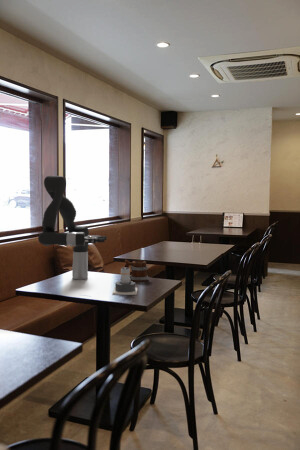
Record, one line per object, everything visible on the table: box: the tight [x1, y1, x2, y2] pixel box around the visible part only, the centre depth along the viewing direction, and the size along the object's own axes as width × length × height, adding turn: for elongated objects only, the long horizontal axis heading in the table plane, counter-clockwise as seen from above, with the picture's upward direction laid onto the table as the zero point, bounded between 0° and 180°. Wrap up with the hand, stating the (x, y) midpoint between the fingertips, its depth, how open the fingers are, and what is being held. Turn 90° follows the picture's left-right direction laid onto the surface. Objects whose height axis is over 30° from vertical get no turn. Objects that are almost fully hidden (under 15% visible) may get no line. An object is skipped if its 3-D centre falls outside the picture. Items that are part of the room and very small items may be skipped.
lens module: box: [120, 266, 131, 284], centre depth 229 cm, size 5×5×12 cm
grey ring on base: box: [112, 280, 138, 296], centre depth 229 cm, size 13×13×5 cm
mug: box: [124, 259, 149, 283], centre depth 260 cm, size 12×14×15 cm
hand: (105, 239), depth 227 cm, fingers open, 8 cm apart
